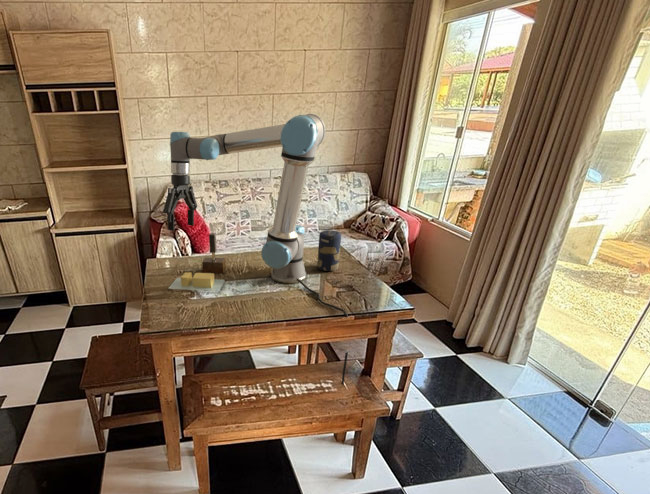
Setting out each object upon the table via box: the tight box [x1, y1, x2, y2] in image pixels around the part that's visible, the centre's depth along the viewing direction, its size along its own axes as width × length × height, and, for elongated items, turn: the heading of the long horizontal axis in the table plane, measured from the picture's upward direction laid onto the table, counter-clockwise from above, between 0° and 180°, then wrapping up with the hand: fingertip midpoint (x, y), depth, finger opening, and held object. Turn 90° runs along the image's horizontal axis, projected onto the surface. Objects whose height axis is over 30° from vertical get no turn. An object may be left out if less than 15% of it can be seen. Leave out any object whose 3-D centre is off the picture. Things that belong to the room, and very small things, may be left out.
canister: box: [316, 229, 342, 272], centre depth 182 cm, size 10×10×18 cm
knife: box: [208, 232, 218, 262], centre depth 184 cm, size 2×3×17 cm
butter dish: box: [168, 277, 225, 292], centre depth 175 cm, size 22×12×1 cm, turn 78°
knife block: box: [201, 257, 227, 274], centre depth 187 cm, size 10×6×6 cm, turn 78°
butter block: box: [192, 272, 215, 288], centre depth 173 cm, size 8×6×4 cm
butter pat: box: [180, 271, 193, 287], centre depth 174 cm, size 3×6×4 cm, turn 168°
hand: (181, 227), depth 172 cm, fingers open, 13 cm apart
